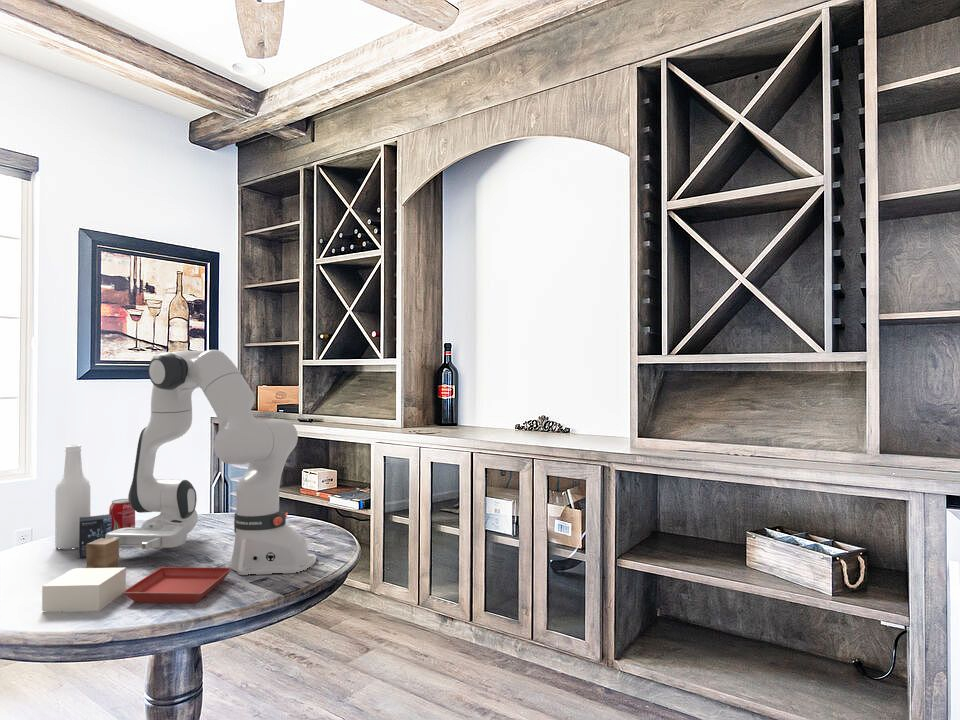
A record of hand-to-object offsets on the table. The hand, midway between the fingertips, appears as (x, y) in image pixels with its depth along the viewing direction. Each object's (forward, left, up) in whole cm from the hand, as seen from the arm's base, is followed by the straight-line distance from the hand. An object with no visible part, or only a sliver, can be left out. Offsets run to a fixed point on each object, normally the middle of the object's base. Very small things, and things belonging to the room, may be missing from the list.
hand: (127, 546), depth 169 cm
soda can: (+19, -26, -6) cm, 33 cm away
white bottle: (+29, -18, -6) cm, 35 cm away
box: (+17, -11, -6) cm, 21 cm away
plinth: (-5, +23, -6) cm, 24 cm away
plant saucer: (-23, +15, -7) cm, 28 cm away
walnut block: (0, +10, -6) cm, 11 cm away
